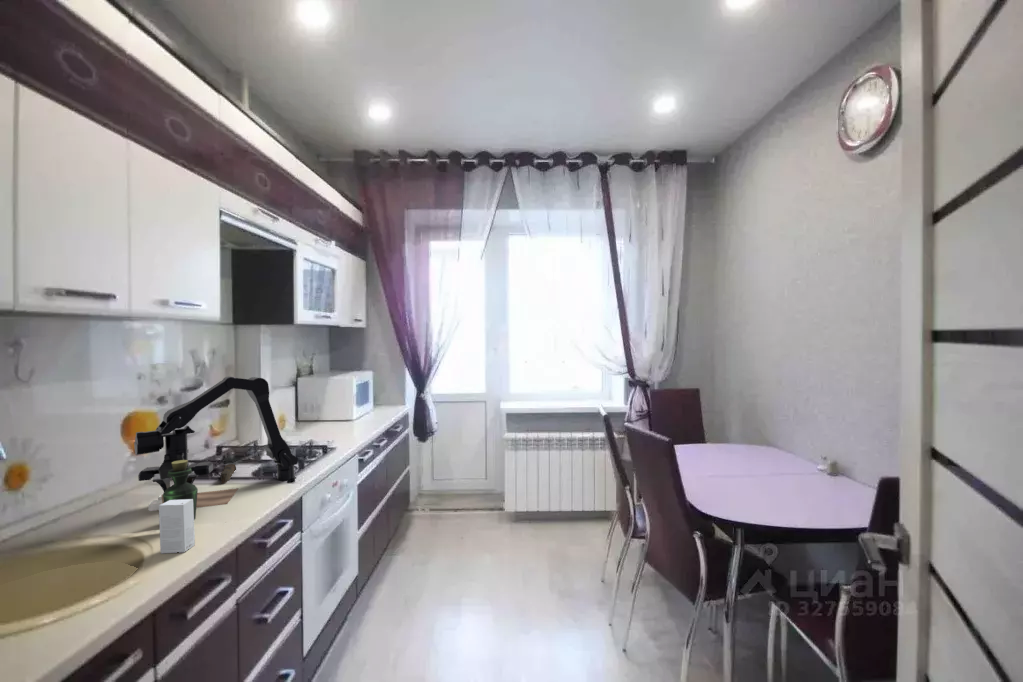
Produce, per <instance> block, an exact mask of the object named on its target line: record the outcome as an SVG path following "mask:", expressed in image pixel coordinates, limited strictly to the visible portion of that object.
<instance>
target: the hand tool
mask: <svg viewBox="0 0 1023 682" xmlns="http://www.w3.org/2000/svg"><path fill="white" fill-rule="evenodd" d="M235 470H236V471H237V466H236V464H235V463H228V464H226V465H224V467H223V469H222V471H221V472H220V483H221V485H225V484H226V483H228V481H229V482H230V480H231V478H232V477H231V476H233V475H234V474H235V473H234V471H235ZM232 474H233V475H232ZM230 477H231V478H230Z"/></svg>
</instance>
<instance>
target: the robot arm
mask: <svg viewBox="0 0 1023 682" xmlns="http://www.w3.org/2000/svg"><path fill="white" fill-rule="evenodd" d="M233 389H235V390H236V389H237V390H242V391H243V390H244V391H246V392H247V394H248V396H249V397H250V399H251V401H253V402H254V404H255V406H256V409H257V411H258V412H257V413H258V415H259V417H260V420H261V424H262V427H263V429H264V432H265V435H266V438H267V444H264V445H263V448H264V450H265V452H266V454H265V455H266V456H267V457H269V458H270V459H272V460H273V462H274V463H275V464H277V465H276V471H277V474H276V476H277V478H276V479H277V480H278V481H280V482H286V483H292V482H291V481H294V482H296V480H295V479H297V477H295V476H296V474H295V466H296V465H297V464H298V462H299V461H298V460H299V458H298V457H297V456H295V455H294V454H292V451H291V448H290V447H289V445H288V444H287V442H286V441H285V439H284V437H282V435H281V432H280V429H279V426H278V424H277V421H276V418H275V417H276V416H275V415H274V412H273V408H272V406H271V403H270V388H269V383H268V381H267V380H266V379H265V378H264V377H258V376H257V377H256V376H253V377H249V378H241V377H234V376H225V377H224V378H222V380H220V381H219V382H217V383H216V384H214V385H213V386H211V387H209V389H208V388H207V390H205V391H204V392H202V393H201V394H199V395H197V396H196V397H194V398H192V399H191V400H189V401H188V402H185V403H182V404H179V405H177V406H175V407H173V408H170V409H168V410H167V411H165V413H164V414H163V417H162V421H161V422H160V423H159V425H158V426H157V427H156V429H155V430H149V431H137V432H135V437H134V439H135V440H134V442H133V443H134V444H133V446H134V453H135V455H136V456H140V455H146V454H153V453H159V452H160V450H162V449H163V448H164V447H165V448H164V449H165V453H164V454H163V455H164V456H163V461H162V462H161V464H160V466H149V467H145V468H144V469H142V470H140V472H139V473H138V481H139V482H141V481H150V480H151V481H152V483H157V484H158V485H159V486H160V487H161V489H162V490H163V492H164V491H165V490H166V489H168V488H169V487H171V479H172V477H169V476H167V475H168V472H169V471H170V470H172V469H173V467H172V462H174V461H179V460H188V459H189V458H188V457H189V448H188V435H189V434H195V432H196V431H195V430H194V429H192V428H191V427H190V426H189V425H187V424H188V423H190V422H191V421H192V420H193V419H194V418H195V417H196V416H197V414H198V413H199V412H200V411H202V410H203V409H204V408H206V407H207V406H209V405H211V403H213V402H215V401H216V400H218V399H220V397H223V395H225V394H227V393H228V392H229V391H231V390H233ZM164 444H165V445H164ZM213 463H214V462H212V461H205V462H198V463H197V464H195V465H194V466H193V465H192V466H191V465H190V462H189V461H188V462H187V467H189V468H191V470H192V473H190V474H188V478H187V481H186V482H187V483H190V484H193V485H194V482H195V480H196V479H197V478H198V477H199V476H204V475H206V476H207V475H209V474H210V473H211V472H212V471H213V470H214V464H213ZM189 465H190V466H189Z"/></svg>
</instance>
